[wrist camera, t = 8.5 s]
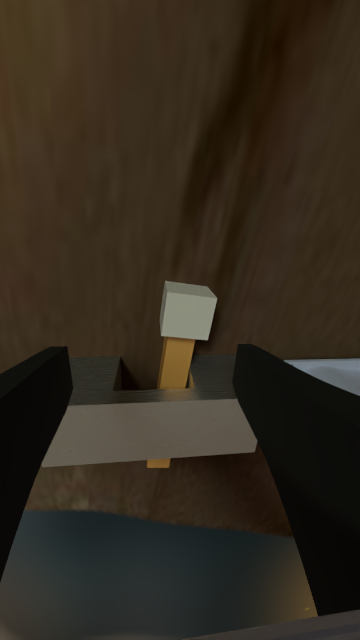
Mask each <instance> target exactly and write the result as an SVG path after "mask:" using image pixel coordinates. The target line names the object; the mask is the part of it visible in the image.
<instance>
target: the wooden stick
mask: <svg viewBox="0 0 360 640" xmlns="http://www.w3.org/2000/svg"><path fill="white" fill-rule="evenodd" d="M216 302H217V298H216V296H215V295H214V294H213V293H212V292H211V290H210V289H209V288H208V287H206V286H198V285H191V284H183V283H176V282H168V281H165V285H164V292H163V299H162V306H161V313H160V329H161V336H165V339H164V345H163V352H162V358H161V365H160V371H159V378H158V384H157V389H183V388H185V387H186V382H187V377H188V372H189V368H190V363H191V358H192V353H193V348H194V343H195V339H199V340H208V337H209V333H210V328H211V324H212V320H213V315H214V311H215V307H216ZM170 459H171V458H165V459H151V460H147V468H169V464H170Z"/></svg>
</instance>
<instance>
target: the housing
mask: <svg viewBox="0 0 360 640" xmlns="http://www.w3.org/2000/svg"><path fill="white" fill-rule="evenodd" d="M235 360H236V355H192V358H191V363H190V368H189V372H188V377H187V382H186V387H185V388H183V389H154V390H125V391H122V378H121V360H120V357H75V358H69V362H70V368H71V375H72V381H73V391H72V395H71V398H70V401H69V404H68V407H67V410H66V413H65V415H64V417H63V419H62V421H61V423H60V426H59V428H58V430H57V432H56V434H55V436H54V438H53V440H52V443H51V445H50V447H49V449H48V451H47V453H46V455H45V457H44V460H43V462H42V467H53V466H67V465H81V464H95V463H109V462H123V461H137V460H151V459H165V458H179V457H193V456H207V455H221V454H235V453H249V452H255V449H256V444H257V439H256V437H255V435H254V433H253V431H252V429H251V427H250V425H249V423H248V421H247V419H246V417H245V415H244V413H243V411H242V409H241V407H240V405H239V403H238V400H237V397H236V394H235V391H234V388H233V385H232V378H233V372H234V366H235Z"/></svg>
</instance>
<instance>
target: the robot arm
mask: <svg viewBox="0 0 360 640" xmlns="http://www.w3.org/2000/svg"><path fill="white" fill-rule="evenodd" d="M232 385H233V388H234V391H235V394H236V397H237V400H238V403H239V405H240V407H241V409H242V411H243V413H244V415H245V417H246V419H247V421H248V423H249V425H250V427H251V429H252V431H253V433H254V435H255V437H256V439H257V441H258V443H259V445H260V447H261V449H262V451H263V454H264V456H265V458H266V460H267V463H268V465H269V468H270V471H271V473H272V476H273V478H274V481H275V484H276V486H277V489H278V492H279V495H280V497H281V500H282V503H283V506H284V509H285V512H286V514H287V517H288V520H289V523H290V526H291V529H292V532H293V535H294V538H295V541H296V544H297V548H298V551H299V554H300V557H301V560H302V563H303V566H304V570H305V573H306V576H307V580H308V583H309V586H310V590H311V593H312V596H313V600H314V603H315V606H316V610H317V614H318V617H312V618H307V619H301V620H295V621H289V622H283V623H277V624H272V625H265V626H259V627H254V628H248V629H242V630H236V631H230V632H224V633H218V634H212V635H206V636H200V637H194V638H189V639H183V640H360V359H317V360H281V359H279V358H277V357H276V356H274V355H272V354H270V353H268V352H267V351H265V350H263V349H261V348H259V347H257V346H255V345H252V344H238V347H237V353H236V360H235V366H234V372H233V378H232ZM72 391H73V381H72V375H71V368H70V362H69V355H68V349H67V346H64V347H49V348H47V349H45V350H43V351H41V352H39V353H37V354H35V355H34V356H32V357H30V358H28V359H27V360H25V361H23V362H21V363H19V364H18V365H16V366H14V367H12V368H10V369H9V370H7V371H5V372H3V373H1V374H0V581H1V578H2V575H3V571H4V568H5V566H6V562H7V559H8V556H9V552H10V549H11V546H12V544H13V540H14V538H15V535H16V532H17V529H18V526H19V522H20V520H21V517H22V513H23V511H24V508H25V505H26V503H27V500H28V497H29V494H30V491H31V489H32V486H33V483H34V480H35V478H36V475H37V473H38V471H39V468H40V466H41V464H42V462H43V460H44V457H45V455H46V453H47V451H48V449H49V447H50V445H51V443H52V440H53V438H54V436H55V434H56V432H57V430H58V428H59V426H60V423H61V421H62V419H63V417H64V415H65V413H66V410H67V407H68V404H69V401H70V398H71V395H72Z"/></svg>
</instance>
